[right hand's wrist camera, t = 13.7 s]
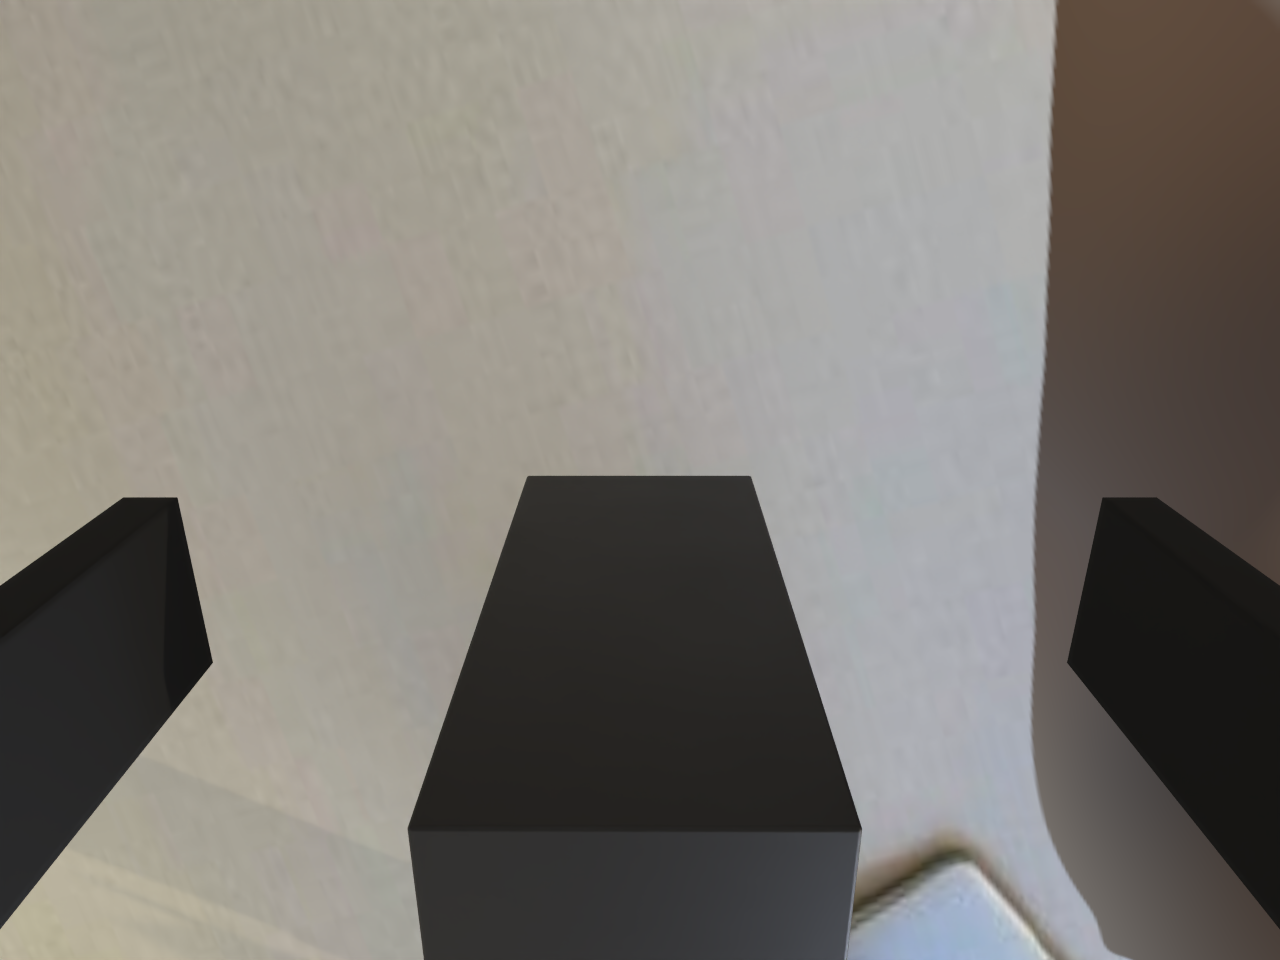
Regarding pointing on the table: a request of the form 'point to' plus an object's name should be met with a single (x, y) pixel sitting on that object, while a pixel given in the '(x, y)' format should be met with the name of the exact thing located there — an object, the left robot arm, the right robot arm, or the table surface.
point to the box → (636, 744)
